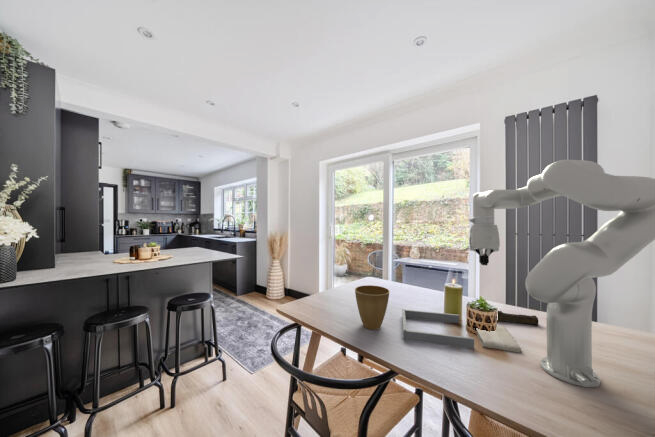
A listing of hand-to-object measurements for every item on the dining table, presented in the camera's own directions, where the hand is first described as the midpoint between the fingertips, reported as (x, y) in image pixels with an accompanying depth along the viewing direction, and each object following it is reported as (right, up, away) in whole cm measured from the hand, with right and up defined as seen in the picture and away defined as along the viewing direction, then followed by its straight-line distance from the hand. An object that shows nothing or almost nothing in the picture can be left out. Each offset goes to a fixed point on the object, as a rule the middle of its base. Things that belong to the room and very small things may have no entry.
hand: (483, 264), depth 100 cm
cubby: (-22, -27, -1) cm, 35 cm away
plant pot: (-47, -28, +3) cm, 54 cm away
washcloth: (-1, -28, -8) cm, 29 cm away
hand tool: (+16, -27, +6) cm, 32 cm away
